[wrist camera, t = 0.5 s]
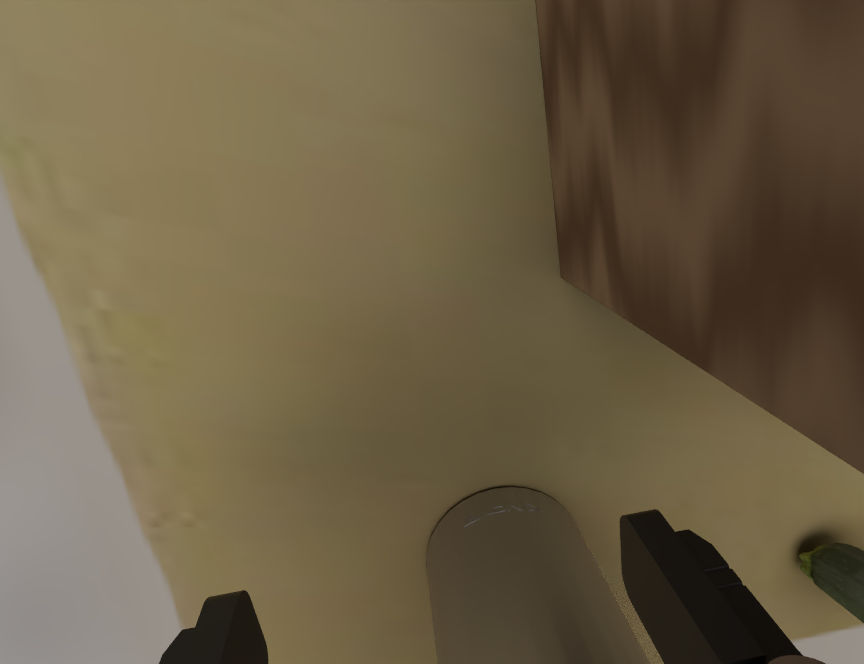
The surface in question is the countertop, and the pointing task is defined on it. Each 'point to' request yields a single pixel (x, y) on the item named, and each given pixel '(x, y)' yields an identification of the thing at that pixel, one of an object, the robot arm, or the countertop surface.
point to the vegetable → (838, 574)
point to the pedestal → (720, 189)
